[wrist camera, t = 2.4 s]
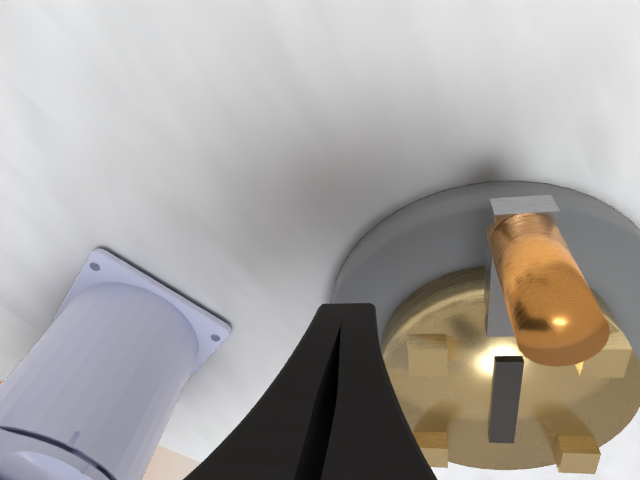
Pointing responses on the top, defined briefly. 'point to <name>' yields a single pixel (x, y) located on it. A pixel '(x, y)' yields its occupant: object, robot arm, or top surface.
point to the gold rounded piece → (513, 354)
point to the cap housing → (471, 242)
